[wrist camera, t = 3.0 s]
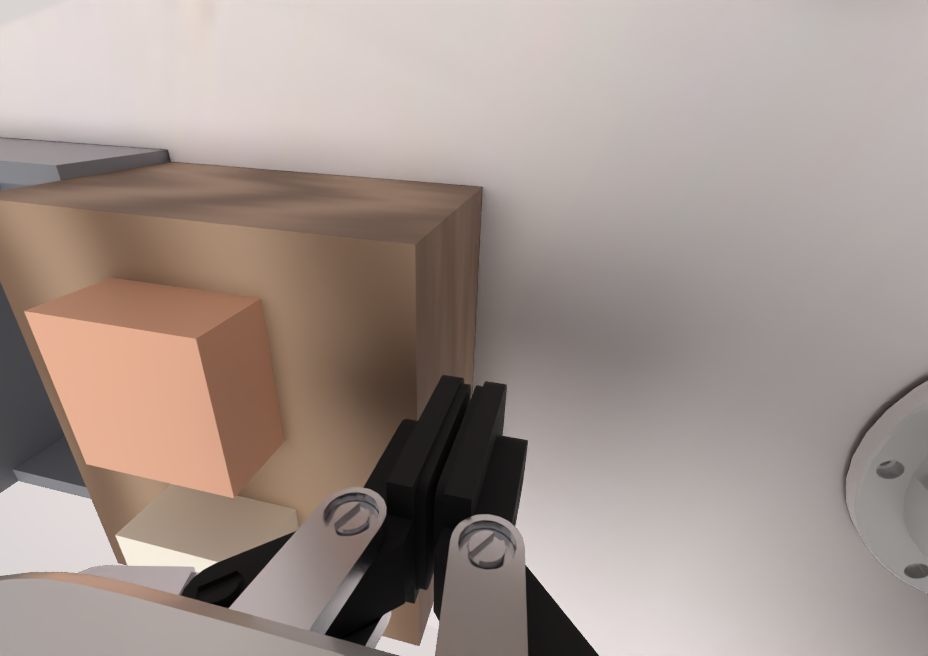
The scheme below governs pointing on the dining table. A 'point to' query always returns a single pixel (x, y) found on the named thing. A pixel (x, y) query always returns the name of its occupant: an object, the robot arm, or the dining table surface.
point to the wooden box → (273, 304)
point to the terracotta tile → (164, 381)
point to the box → (3, 346)
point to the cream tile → (200, 528)
